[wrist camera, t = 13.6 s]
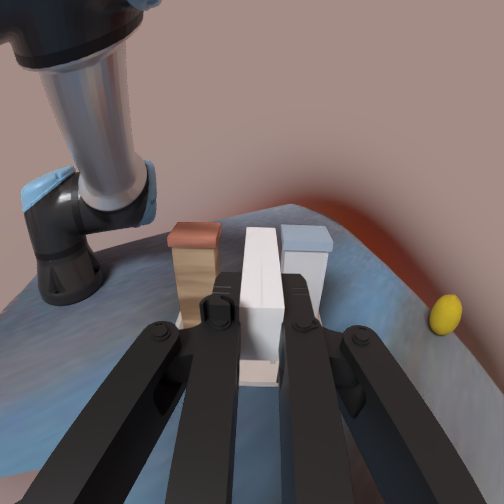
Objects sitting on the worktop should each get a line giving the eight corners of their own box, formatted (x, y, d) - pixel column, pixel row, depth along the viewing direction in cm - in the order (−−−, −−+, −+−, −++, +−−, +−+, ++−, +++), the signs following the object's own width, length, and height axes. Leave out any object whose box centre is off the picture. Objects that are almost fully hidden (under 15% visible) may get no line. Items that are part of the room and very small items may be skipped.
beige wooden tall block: (221, 338, 38) (215, 238, 31) (182, 335, 38) (166, 237, 31) (224, 317, 42) (221, 222, 35) (188, 315, 42) (177, 222, 35)
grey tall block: (314, 340, 38) (333, 242, 31) (274, 340, 38) (283, 240, 31) (310, 319, 42) (325, 226, 35) (273, 319, 42) (281, 224, 35)
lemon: (444, 349, 35) (464, 310, 32) (418, 334, 39) (435, 294, 36) (453, 333, 38) (471, 295, 35) (429, 319, 42) (445, 281, 39)
